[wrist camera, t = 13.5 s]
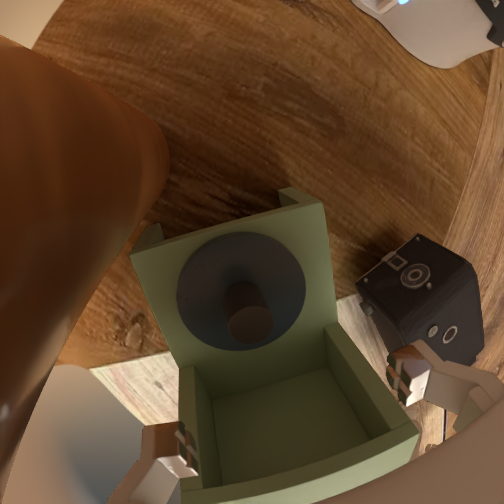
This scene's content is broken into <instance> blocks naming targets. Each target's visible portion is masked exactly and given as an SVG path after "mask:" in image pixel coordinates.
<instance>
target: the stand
mask: <svg viewBox="0 0 504 504" xmlns="http://www.w3.org/2000/svg"><path fill="white" fill-rule="evenodd" d="M169 170H170V152H169V147H168V143H167V140H166V138H165V136H164V134H163V132H162V130H161V129H160V127H159V126H158V125H157V124H156V123H155V121H154V120H152V119H151V118H150V117H149V116H147V115H146V114H144V113H143V112H141V111H139V110H138V109H136V108H134V107H133V106H131V105H129V104H128V103H126V102H124V101H123V100H121V99H119V98H118V97H116V96H114V95H113V94H111V93H109V92H107V91H106V90H104V89H102V88H101V87H99V86H97V85H95V84H94V83H92V82H90V81H88V80H86V79H85V78H83V77H81V76H79V75H77V74H76V73H74V72H72V71H70V70H68V69H67V68H65V67H63V66H61V65H59V64H57V63H55V62H53V61H52V60H50V59H48V58H46V57H44V56H42V55H40V54H38V53H36V52H34V51H32V50H30V49H28V48H26V47H24V46H22V45H20V44H18V43H16V42H14V41H12V40H9V39H8V38H6V37H3V36H1V35H0V504H1V503H2V499H3V495H4V491H5V488H6V484H7V481H8V478H9V474H10V471H11V468H12V465H13V462H14V459H15V456H16V453H17V451H18V448H19V445H20V442H21V440H22V437H23V434H24V432H25V429H26V427H27V424H28V422H29V419H30V417H31V414H32V412H33V410H34V407H35V405H36V402H37V400H38V398H39V396H40V394H41V392H42V389H43V387H44V385H45V383H46V381H47V379H48V377H49V374H50V372H51V370H52V368H53V366H54V364H55V362H56V360H57V358H58V356H59V354H60V352H61V351H62V349H63V347H64V345H65V343H66V341H67V339H68V337H69V335H70V334H71V332H72V330H73V328H74V326H75V325H76V323H77V321H78V319H79V317H80V316H81V314H82V312H83V310H84V309H85V307H86V305H87V304H88V302H89V300H90V298H91V297H92V295H93V293H94V292H95V290H96V289H97V287H98V285H99V284H100V282H101V280H102V279H103V277H104V276H105V274H106V272H107V271H108V269H109V268H110V266H111V265H112V263H113V262H114V260H115V259H116V257H117V255H118V254H119V252H120V251H121V249H122V248H123V246H124V245H125V244H126V242H127V241H128V239H129V238H130V236H131V235H132V233H133V232H134V230H135V229H136V228H137V226H138V225H139V223H140V222H141V221H142V219H143V218H144V216H145V215H146V214H147V212H148V211H149V209H150V208H151V207H152V205H153V204H154V203H155V201H156V200H157V199H158V197H159V196H160V194H161V193H162V191H163V189H164V187H165V185H166V182H167V179H168V175H169Z"/></svg>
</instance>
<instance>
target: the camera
mask: <svg viewBox="0 0 504 504" xmlns="http://www.w3.org/2000/svg"><path fill="white" fill-rule="evenodd" d="M355 286H356V288H357V290H358V292H359V294H360V296H361V298H362V300H363V302H361V303H360V304H359V305H360V307H361V308H362V310H363V311H364V313H365V314H366V315H367V316H369V315H371V317H372V319H373V321H374V323H375V325H376V327H377V329H378V331H379V333H380V335H381V337H382V339H383V341H384V344H385V346H386V348H387V350H388V352H389V354H390V353H392V352H394V351H396V350H398V349H400V348H402V347H404V346H406V345H408V344H411V343H413V342H415V341H417V340H419V339H421V340H423V341H424V342H425V343H426V344H427V345H428V346H429V347H430V348H431V349H432V350H433V351H434V352H435V353H436V354H437V355H438V356H439V357H440V358H441V359H442V360H443V362H444V361H446V360H447V361H451V362H454V363H458V364H462V365H465V366H469V367H470V366H471V365H472V364H473V363H474V362H475V361H476V355H478V354H479V353H480V352H481V351H482V350H483V348H484V330H483V319H482V311H481V301H480V292H479V285H478V278H477V274H476V272H475V270H474V268H473V266H472V264H471V263H469V262H468V261H467V260H466V259H464V258H463V257H461V256H459V255H457V254H456V253H454V252H452V251H450V250H448V249H447V248H445V247H443V246H441V245H439V244H437V243H436V242H434V241H432V240H430V239H428V238H426V237H425V236H423V235H421V234H419V233H416V234H415V235H414V236H412V237H411V238H410V239H409V240H408V241H406V242H405V243H404V244H403V245H402V246H400V247H399V248H398V249H397V250H396V251H394V252H393V251H391V252H390V253H388V254H387V255H386V256H385V257H383V258H382V259H381V261H380V262H379V263H378V264H377V265H376V266H375V267H373V268H372V269H371V270H370V271H368V272H367V273H366V274H364V275H363V276H362V277H360V278H359V279H358V280H357V281H356V282H355ZM427 402H428V401H427Z"/></svg>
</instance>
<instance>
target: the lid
mask: <svg viewBox="0 0 504 504" xmlns="http://www.w3.org/2000/svg"><path fill="white" fill-rule="evenodd" d="M305 297H306V281H305V276H304V273H303V270H302V268H301V266H300V264H299V262H298V260H297V259H296V258H295V257H294V255H293V254H292V253H291V252H290V251H289V249H287V248H286V247H285V246H284V245H283V244H282V243H280V242H279V241H277V240H275V239H273V238H271V237H269V236H267V235H264V234H260V233H255V232H245V231H243V232H232V233H227V234H224V235H221V236H218V237H215V238H213V239H211V240H209V241H208V242H206V243H204V244H203V245H201V246H200V247H199V248H198V249H197V250H196V251H194V252H193V254H192V255H191V256H190V257H189V258H188V260H187V261H186V263H185V264H184V266H183V268H182V270H181V272H180V275H179V278H178V283H177V291H176V302H177V309H178V312H179V315H180V317H181V319H182V322H183V323H184V325H185V326H186V328H187V329H188V330H189V331H190V332H191V333H192V334H193V335H194V336H195V337H196V338H197V339H199V340H200V341H202V342H203V343H205V344H207V345H209V346H212V347H214V348H217V349H222V350H227V351H246V350H252V349H256V348H259V347H262V346H265V345H267V344H269V343H271V342H273V341H275V340H276V339H278V338H279V337H281V336H282V335H283V334H284V333H286V332H287V331H288V330H289V329H290V328H291V326H292V325H293V324H294V323H295V321H296V320H297V318H298V317H299V315H300V313H301V311H302V308H303V305H304V301H305Z"/></svg>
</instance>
